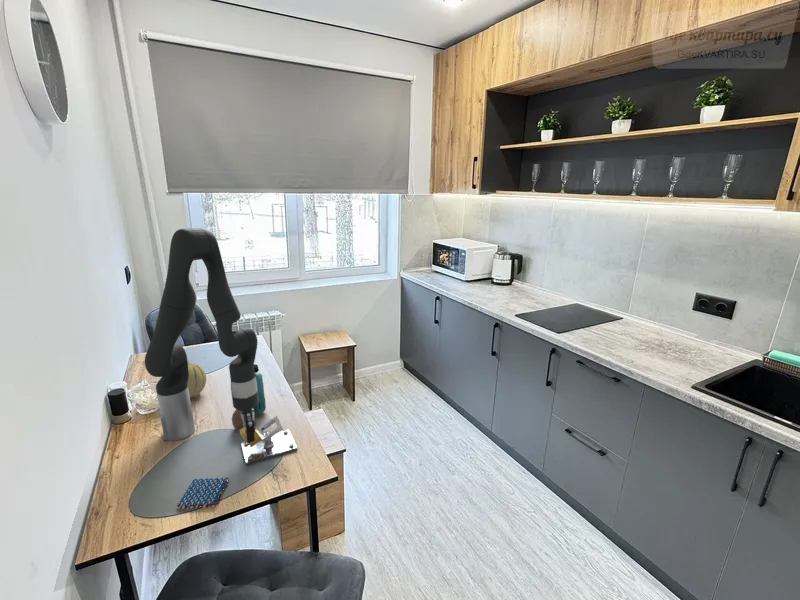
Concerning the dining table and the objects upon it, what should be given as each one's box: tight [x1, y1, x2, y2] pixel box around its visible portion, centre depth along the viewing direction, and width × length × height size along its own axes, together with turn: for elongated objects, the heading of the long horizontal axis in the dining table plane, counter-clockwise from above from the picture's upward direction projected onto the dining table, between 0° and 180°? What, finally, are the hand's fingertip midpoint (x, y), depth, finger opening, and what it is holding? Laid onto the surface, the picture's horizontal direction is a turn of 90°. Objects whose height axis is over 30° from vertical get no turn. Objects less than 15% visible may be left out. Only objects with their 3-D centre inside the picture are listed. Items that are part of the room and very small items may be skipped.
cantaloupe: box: [188, 361, 207, 399], centre depth 156 cm, size 15×15×15 cm
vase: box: [231, 409, 244, 432], centre depth 137 cm, size 7×7×9 cm
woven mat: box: [176, 476, 230, 510], centre depth 108 cm, size 10×11×2 cm
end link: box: [239, 416, 284, 447], centre depth 124 cm, size 11×7×6 cm, turn 119°
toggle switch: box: [240, 429, 298, 466], centre depth 127 cm, size 16×11×6 cm
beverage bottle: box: [253, 363, 267, 415], centre depth 144 cm, size 6×7×20 cm
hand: (250, 438), depth 123 cm, fingers closed on end link, 3 cm apart
